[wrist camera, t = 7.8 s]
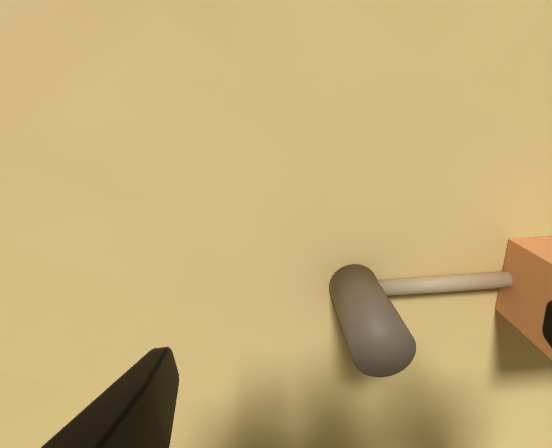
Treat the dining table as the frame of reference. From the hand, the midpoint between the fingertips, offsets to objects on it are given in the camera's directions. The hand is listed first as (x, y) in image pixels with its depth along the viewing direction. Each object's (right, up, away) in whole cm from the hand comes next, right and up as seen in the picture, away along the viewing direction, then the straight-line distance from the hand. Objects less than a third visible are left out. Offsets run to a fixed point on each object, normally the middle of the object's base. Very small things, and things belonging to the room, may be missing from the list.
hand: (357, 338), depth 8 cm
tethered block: (+9, -1, +13) cm, 16 cm away
